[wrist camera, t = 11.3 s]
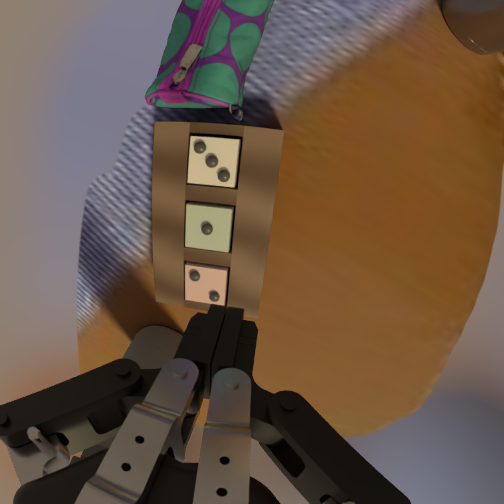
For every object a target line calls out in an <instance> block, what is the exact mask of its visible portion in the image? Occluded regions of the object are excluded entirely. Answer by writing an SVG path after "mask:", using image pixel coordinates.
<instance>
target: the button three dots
mask: <svg viewBox="0 0 504 504" xmlns="http://www.w3.org/2000/svg"><path fill="white" fill-rule="evenodd" d="M241 146H242V139H239V138H228V137H216V136H200V135H197V136H191V139H190V152H189V166H188V183H195V184H205V185H215V186H225V187H235V186H236V184H237V183H238V174H239V164H240V155H241Z"/></svg>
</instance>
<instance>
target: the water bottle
mask: <svg viewBox="0 0 504 504" xmlns="http://www.w3.org/2000/svg"><path fill="white" fill-rule="evenodd" d="M182 337H183V336H182V335H181V334H179V333H177V332H176V331H174V330H172V329H170V328H167V327H163V326H148V327H145V328H143V329H141V330H140V331H139V332H137V334H136V336H135V337H134V339H133V341H132V342H131V344H130V346H129V347H128V349H127V351H126V353H125V354H124V356H123V358H125V359H131V360H133V361H135V362H136V363H137V364H138V365H139V366H140V369H157V368H162V367H163V366H164V364H165V363H166V362H168V361H170V360H172V359H173V358H174V356H175V354H176V351H177V349H178V347H179V344H180V342H181V340H182ZM123 358H122V359H123ZM115 437H116V435H115V436H113V437H111V438H109V439H107V440H105V441H103V442H101V443H98V444H96V445H94V446H92V447H89V448H87V449H85V450H84V451H83V453H82V455H81V457H80V458H79V457H76V456H73V458H72V460H71V462H70V464H69V465H71V464H73V463H75V462H77V461H79V460H81V459H84V458H86V457H88V456H90V455H92V454H94V453H96V452H98V451H100V450H103V449H106V448H109V447H110V446H111V444H112V442H113V441H114V439H115Z"/></svg>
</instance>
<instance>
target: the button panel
mask: <svg viewBox="0 0 504 504" xmlns="http://www.w3.org/2000/svg"><path fill="white" fill-rule="evenodd" d="M192 133H204V134H219V135H231V136H242V137H243V144H242V153H241V163H240V172H239V182H238V188H235V187H225V186H215V185H205V184H195V183H188V166H189V152H190V139H191V136H192ZM283 136H284V131H283V130H276V129H268V128H260V127H251V126H241V125H229V124H215V123H197V122H155V130H154V146H153V168H152V244H153V267H154V283H155V297H156V302H161V303H166V304H172V305H177V306H183V307H189V308H194V309H200V310H207V311H208V310H209V308H210V305H211V304H209V303H203V302H196V301H190V300H185V264H186V261H191V262H198V263H205V264H212V265H220V266H227V267H230V278H229V289H228V294H227V297H226V301H225V305H224V306H227V307H228V306H230V307H236V308H243V309H244V316H247V317H254V318H258V311H259V305H260V298H261V292H262V285H263V278H264V272H265V265H266V258H267V251H268V245H269V238H270V231H271V224H272V217H273V210H274V202H275V195H276V188H277V181H278V173H279V166H280V158H281V151H282V143H283ZM188 200H190V201H200V202H209V203H218V204H226V205H235V206H236V212H235V223H234V233H233V244H232V250H231V249H229V252H221V251H214V250H206V249H199V248H192V247H185V235H186V204H187V203H188Z"/></svg>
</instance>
